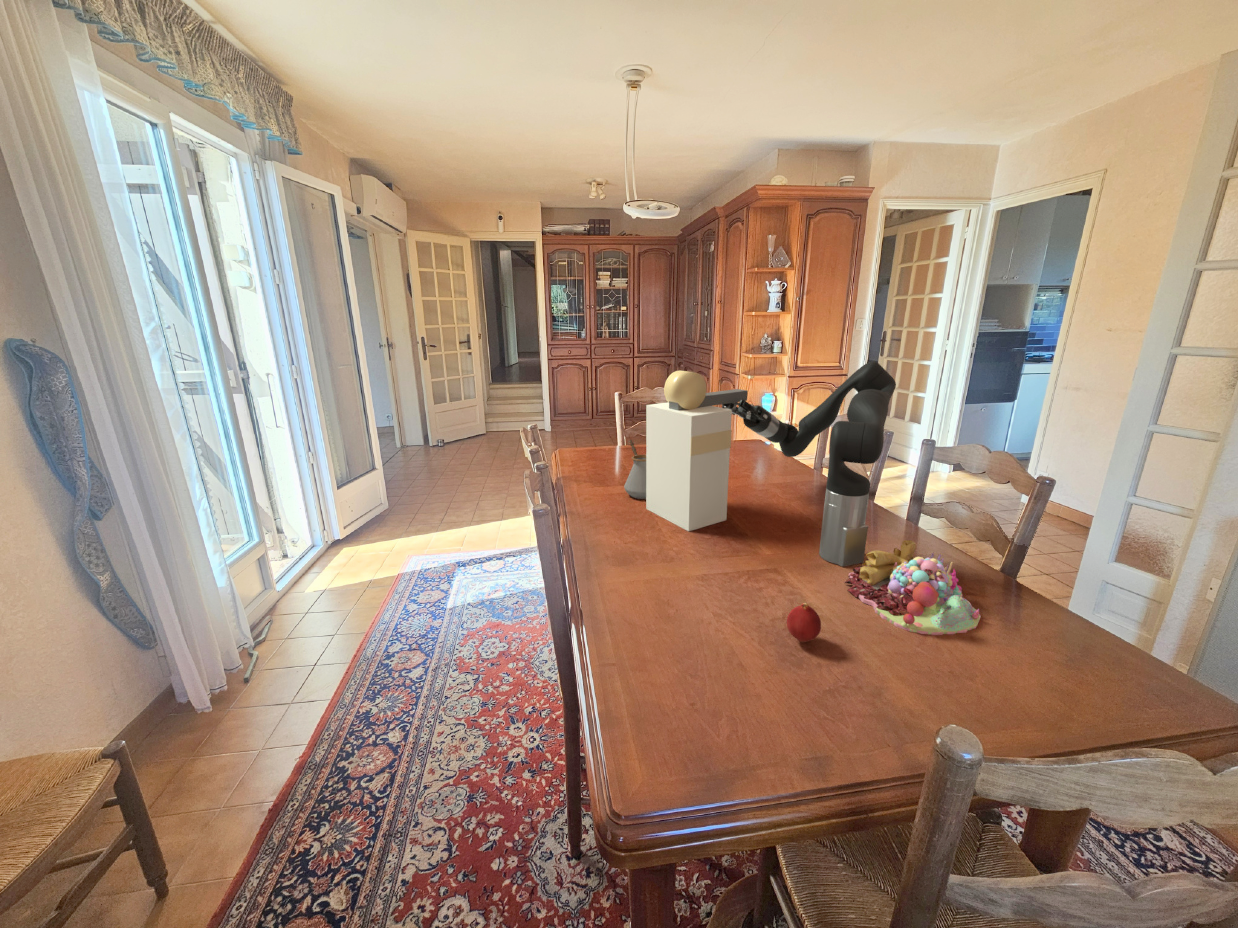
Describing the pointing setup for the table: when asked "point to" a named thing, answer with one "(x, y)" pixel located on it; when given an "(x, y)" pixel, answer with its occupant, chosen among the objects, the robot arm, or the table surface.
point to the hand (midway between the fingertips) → (729, 400)
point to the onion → (803, 623)
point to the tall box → (688, 464)
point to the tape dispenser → (696, 392)
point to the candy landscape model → (913, 592)
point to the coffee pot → (637, 476)
